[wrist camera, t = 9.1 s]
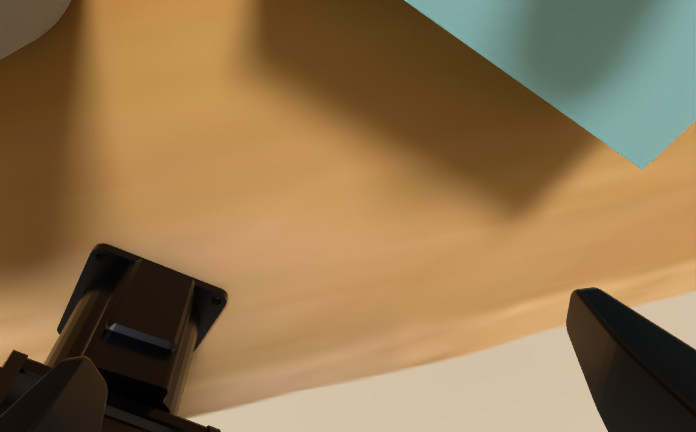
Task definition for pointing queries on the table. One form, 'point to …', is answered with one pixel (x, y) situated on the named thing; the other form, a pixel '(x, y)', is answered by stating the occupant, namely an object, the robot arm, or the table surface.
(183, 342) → the robot arm
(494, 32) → the socket block
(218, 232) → the table surface
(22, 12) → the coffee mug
